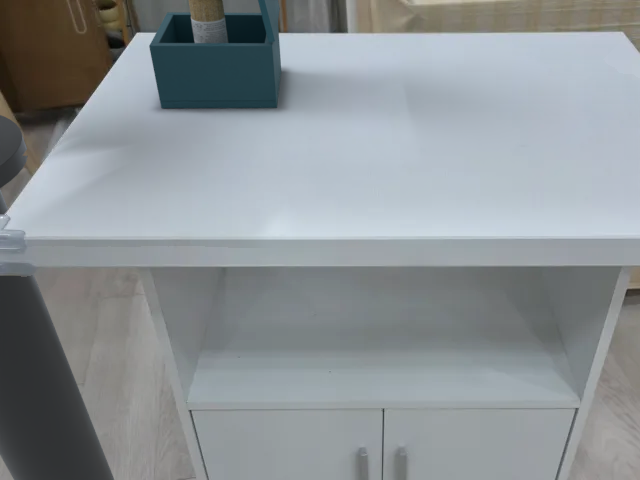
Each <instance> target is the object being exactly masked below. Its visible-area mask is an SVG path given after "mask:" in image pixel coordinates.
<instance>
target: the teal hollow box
mask: <svg viewBox="0 0 640 480" xmlns="http://www.w3.org/2000/svg"><path fill="white" fill-rule="evenodd" d="M224 14H225V21H226V30H227V35H228V43H195V41H194V35H193V28H192V22H191V12H190V11H188V12H187V11H184V12H182V11H180V12H177V11H176V12H175V11H172V12H171V11H170V12H169V11H168V12H166V14H165V16H164V17H163V19H162V22H161V23H160V25H159V27H158V29H157V31H156V32H155V34H154V36H153V38H152V40H151V41H150V44H149V52H150V58H151V62H152V67H153V68H152V69H153V73H154V79H155V82H156V89H157V94H158V98H159V104H160V108H161V109H276V108H278V101H279V94H280V84H281V76H282V60H281V59H282V58H281V45H280V44H281V43H280V31H279V23H278V24H277V31H276V38H275V42H270V43H269V41H268V37H267V34H266V30H265V26H264V22H263V18H262V14H261V12H224Z"/></svg>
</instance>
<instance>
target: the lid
mask: <svg viewBox="0 0 640 480" xmlns="http://www.w3.org/2000/svg"><path fill="white" fill-rule="evenodd" d="M257 2H258V6H259V11H260V13H261V14H262V18H263V22H264V26H265V30H266V34H267V37H268V41H269V43H270V42H275V38H276V31H277V24H278V25H279V18H280V10H281V8H280V2H279V0H257Z"/></svg>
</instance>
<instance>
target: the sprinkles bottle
mask: <svg viewBox="0 0 640 480" xmlns="http://www.w3.org/2000/svg"><path fill="white" fill-rule="evenodd" d="M188 4H189V12H191V22H192V28H193V35H194V41H195V43H228V35H227V30H226V21H225V14H224V13H225V7H224V1H223V0H188Z"/></svg>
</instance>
